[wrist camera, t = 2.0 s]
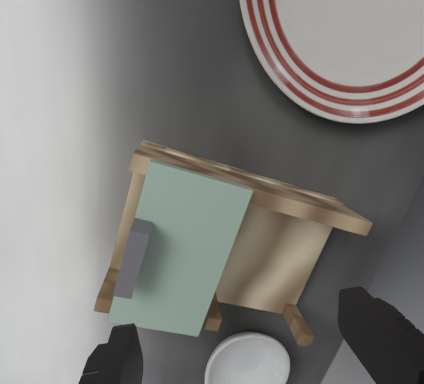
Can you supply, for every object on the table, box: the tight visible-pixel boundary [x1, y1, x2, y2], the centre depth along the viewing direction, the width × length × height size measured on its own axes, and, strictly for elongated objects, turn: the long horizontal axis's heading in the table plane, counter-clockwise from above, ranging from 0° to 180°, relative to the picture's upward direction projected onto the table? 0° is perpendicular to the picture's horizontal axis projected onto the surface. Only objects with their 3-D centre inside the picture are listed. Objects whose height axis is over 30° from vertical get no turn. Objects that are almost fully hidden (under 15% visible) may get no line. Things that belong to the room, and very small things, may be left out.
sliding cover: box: [107, 159, 253, 337], centre depth 24 cm, size 9×16×4 cm, turn 162°
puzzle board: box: [94, 140, 373, 347], centre depth 30 cm, size 24×16×7 cm
